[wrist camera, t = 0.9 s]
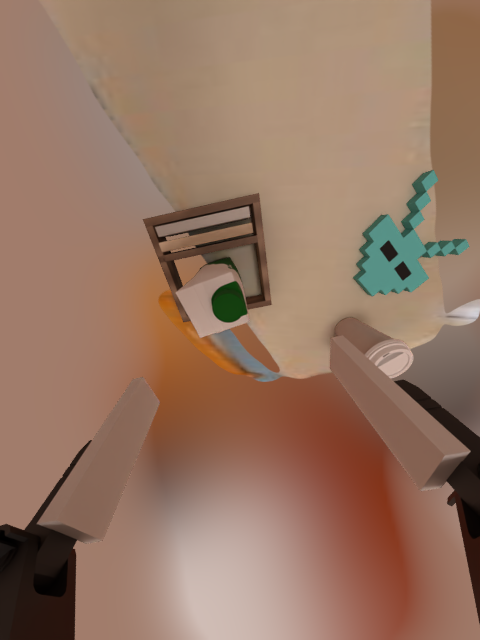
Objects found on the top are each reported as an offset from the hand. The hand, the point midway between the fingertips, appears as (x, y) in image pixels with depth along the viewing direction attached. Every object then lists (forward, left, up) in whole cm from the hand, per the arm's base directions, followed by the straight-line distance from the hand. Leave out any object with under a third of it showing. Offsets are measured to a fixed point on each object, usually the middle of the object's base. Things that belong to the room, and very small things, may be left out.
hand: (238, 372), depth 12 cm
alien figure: (+2, +38, -31) cm, 49 cm away
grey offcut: (-11, -3, -30) cm, 33 cm away
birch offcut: (-9, -3, -30) cm, 32 cm away
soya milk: (0, -3, -30) cm, 31 cm away
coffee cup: (+20, +28, -30) cm, 46 cm away
